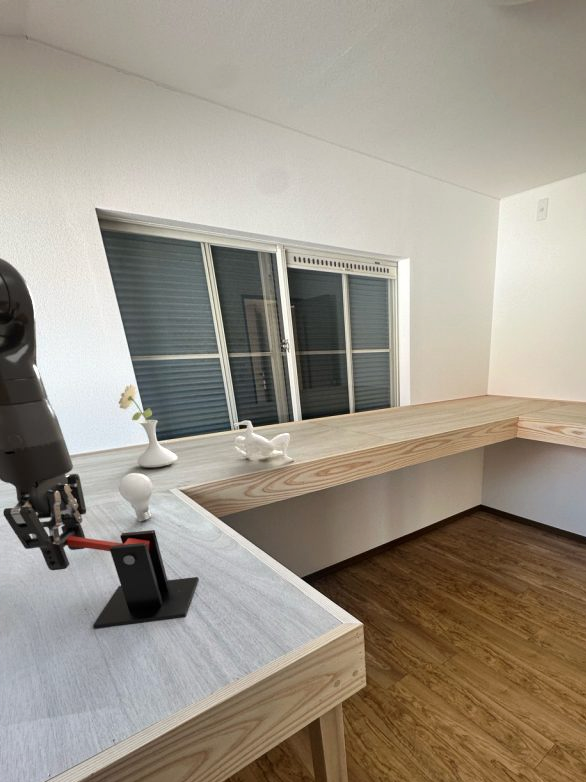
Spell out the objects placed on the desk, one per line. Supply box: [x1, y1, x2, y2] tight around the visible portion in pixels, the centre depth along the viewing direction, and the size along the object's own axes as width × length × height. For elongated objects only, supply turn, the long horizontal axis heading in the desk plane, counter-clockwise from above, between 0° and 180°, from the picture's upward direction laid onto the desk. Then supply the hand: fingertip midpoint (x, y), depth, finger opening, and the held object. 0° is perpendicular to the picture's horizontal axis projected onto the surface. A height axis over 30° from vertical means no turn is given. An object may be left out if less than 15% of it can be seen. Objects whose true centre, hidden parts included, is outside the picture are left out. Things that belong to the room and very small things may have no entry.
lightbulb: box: [118, 472, 154, 522], centre depth 91 cm, size 6×6×11 cm
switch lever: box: [59, 528, 150, 552], centre depth 58 cm, size 11×5×2 cm, turn 103°
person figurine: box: [233, 419, 292, 461], centre depth 134 cm, size 13×13×18 cm
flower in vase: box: [118, 383, 178, 468], centre depth 126 cm, size 13×11×25 cm
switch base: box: [92, 529, 199, 630], centre depth 61 cm, size 12×10×12 cm
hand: (69, 557), depth 58 cm, fingers closed on switch lever, 5 cm apart
